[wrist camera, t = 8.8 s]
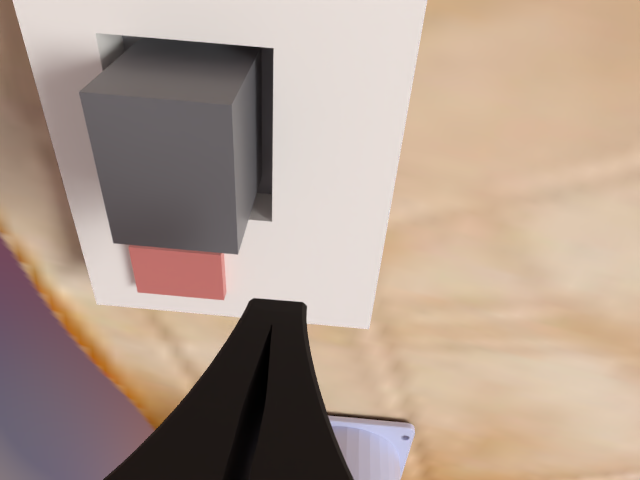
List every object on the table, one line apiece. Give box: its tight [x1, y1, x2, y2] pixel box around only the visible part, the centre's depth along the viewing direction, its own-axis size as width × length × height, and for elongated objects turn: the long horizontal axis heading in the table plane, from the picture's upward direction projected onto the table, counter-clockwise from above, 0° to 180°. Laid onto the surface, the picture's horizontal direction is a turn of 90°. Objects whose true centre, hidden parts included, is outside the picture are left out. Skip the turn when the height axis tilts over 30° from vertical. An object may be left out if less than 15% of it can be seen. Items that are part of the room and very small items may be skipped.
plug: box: [79, 37, 262, 255], centre depth 17 cm, size 5×4×5 cm
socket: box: [13, 0, 427, 329], centre depth 19 cm, size 14×12×3 cm
